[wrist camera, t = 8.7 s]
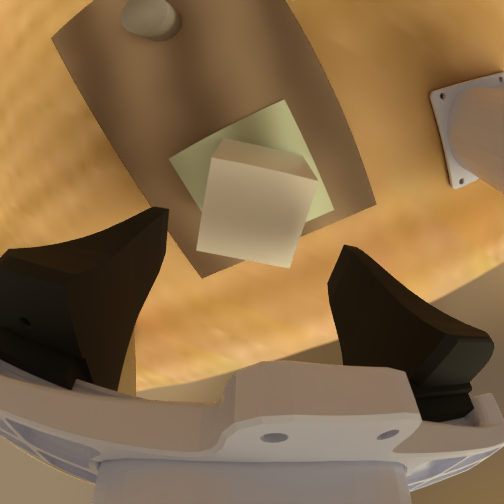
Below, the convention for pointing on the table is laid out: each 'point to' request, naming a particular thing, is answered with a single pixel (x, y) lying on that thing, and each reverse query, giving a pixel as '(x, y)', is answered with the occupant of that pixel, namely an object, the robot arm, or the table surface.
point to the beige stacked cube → (255, 203)
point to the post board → (210, 102)
